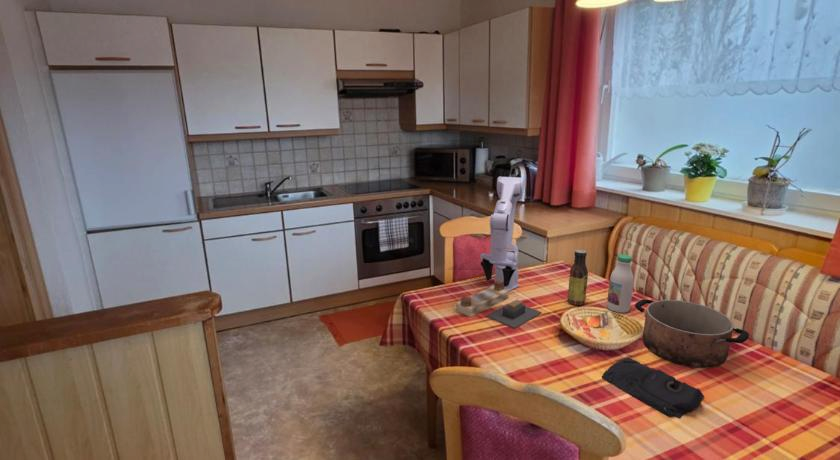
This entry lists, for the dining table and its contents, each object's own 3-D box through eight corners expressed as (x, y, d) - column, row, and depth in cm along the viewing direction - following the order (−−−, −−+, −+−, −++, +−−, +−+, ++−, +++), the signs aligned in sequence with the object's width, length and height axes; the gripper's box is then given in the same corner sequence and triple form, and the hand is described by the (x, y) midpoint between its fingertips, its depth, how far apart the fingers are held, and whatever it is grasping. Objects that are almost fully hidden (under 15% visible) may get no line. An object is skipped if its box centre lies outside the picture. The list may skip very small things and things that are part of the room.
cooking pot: (616, 340, 142) (620, 309, 138) (649, 319, 155) (654, 290, 152) (725, 385, 119) (733, 349, 116) (753, 355, 133) (760, 322, 130)
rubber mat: (513, 302, 168) (513, 301, 167) (541, 313, 159) (541, 312, 159) (485, 316, 157) (485, 315, 157) (514, 328, 149) (514, 327, 148)
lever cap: (514, 308, 162) (514, 298, 161) (525, 312, 159) (525, 302, 158) (502, 315, 157) (503, 304, 156) (513, 319, 154) (514, 308, 153)
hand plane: (493, 292, 176) (494, 278, 174) (508, 298, 171) (509, 283, 170) (455, 310, 161) (455, 295, 160) (470, 317, 157) (470, 301, 155)
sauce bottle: (586, 306, 164) (591, 255, 158) (568, 305, 165) (573, 254, 160) (583, 299, 170) (589, 249, 164) (566, 297, 171) (571, 248, 166)
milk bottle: (625, 304, 166) (632, 252, 160) (633, 313, 158) (640, 260, 153) (603, 303, 167) (609, 252, 161) (610, 313, 159) (616, 259, 154)
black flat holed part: (629, 360, 131) (631, 345, 130) (709, 400, 114) (713, 384, 112) (596, 378, 123) (597, 362, 122) (677, 424, 106) (680, 407, 104)
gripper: (475, 244, 160) (474, 280, 164) (509, 254, 150) (507, 292, 154) (487, 240, 165) (486, 274, 169) (521, 249, 155) (519, 286, 159)
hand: (497, 282), depth 162 cm, fingers open, 7 cm apart
